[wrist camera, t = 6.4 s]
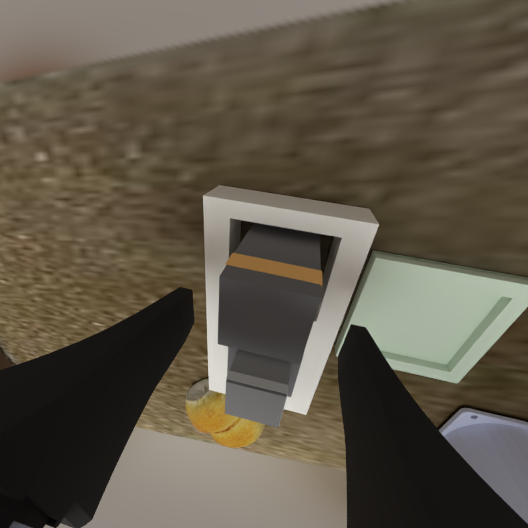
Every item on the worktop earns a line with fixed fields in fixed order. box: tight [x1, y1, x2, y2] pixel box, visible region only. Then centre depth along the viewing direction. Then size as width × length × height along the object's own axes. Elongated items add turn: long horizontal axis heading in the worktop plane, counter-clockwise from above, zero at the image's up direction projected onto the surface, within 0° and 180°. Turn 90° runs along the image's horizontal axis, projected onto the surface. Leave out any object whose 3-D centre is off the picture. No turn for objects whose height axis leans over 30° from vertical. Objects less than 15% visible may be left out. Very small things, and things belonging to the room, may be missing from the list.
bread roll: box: [186, 378, 265, 447], centre depth 25 cm, size 8×9×4 cm
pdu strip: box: [203, 185, 379, 428], centre depth 17 cm, size 9×18×6 cm, turn 174°
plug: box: [218, 223, 323, 364], centre depth 13 cm, size 4×4×7 cm
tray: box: [335, 250, 528, 384], centre depth 16 cm, size 9×9×1 cm
